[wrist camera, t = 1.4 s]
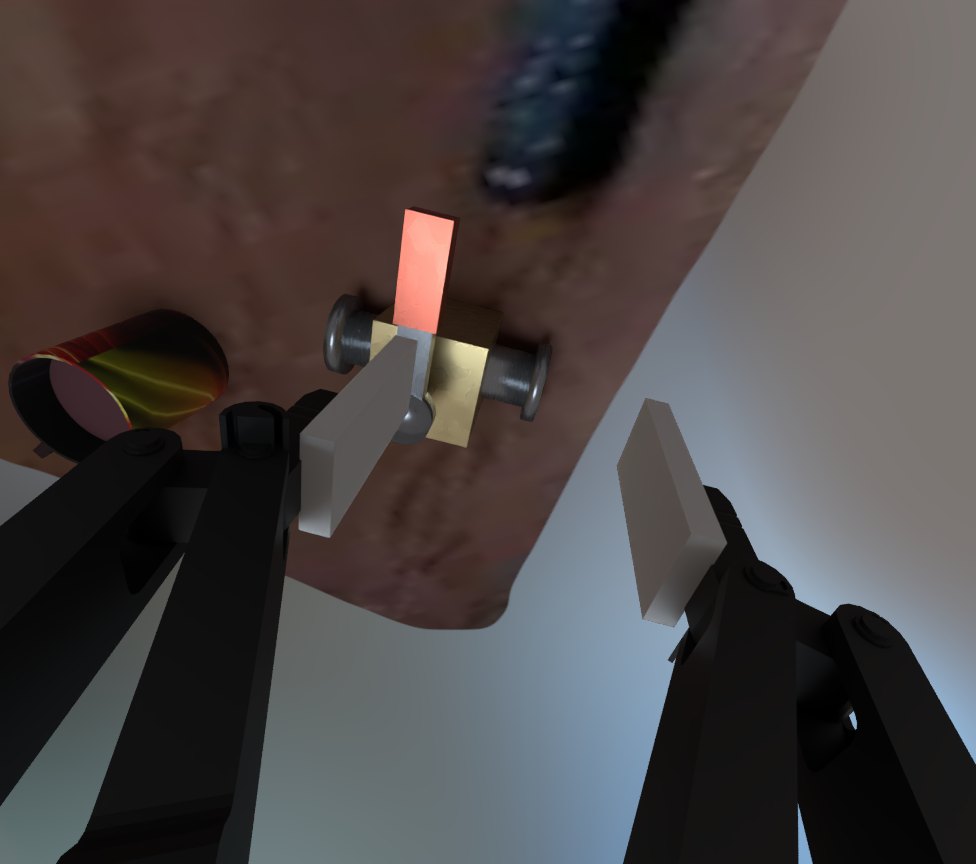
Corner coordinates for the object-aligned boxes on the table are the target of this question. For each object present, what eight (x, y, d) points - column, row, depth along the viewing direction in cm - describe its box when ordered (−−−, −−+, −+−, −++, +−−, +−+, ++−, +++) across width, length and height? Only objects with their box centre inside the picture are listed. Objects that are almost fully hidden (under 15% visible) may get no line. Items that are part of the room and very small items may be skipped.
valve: (352, 363, 44) (307, 406, 37) (358, 276, 40) (308, 304, 33) (531, 409, 44) (524, 462, 36) (555, 325, 40) (553, 365, 32)
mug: (122, 404, 51) (8, 467, 40) (139, 289, 44) (7, 328, 33) (209, 448, 52) (120, 520, 41) (239, 343, 45) (141, 397, 35)
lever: (442, 416, 35) (425, 450, 31) (394, 404, 35) (371, 436, 31) (479, 214, 28) (464, 223, 24) (419, 200, 28) (394, 206, 24)
